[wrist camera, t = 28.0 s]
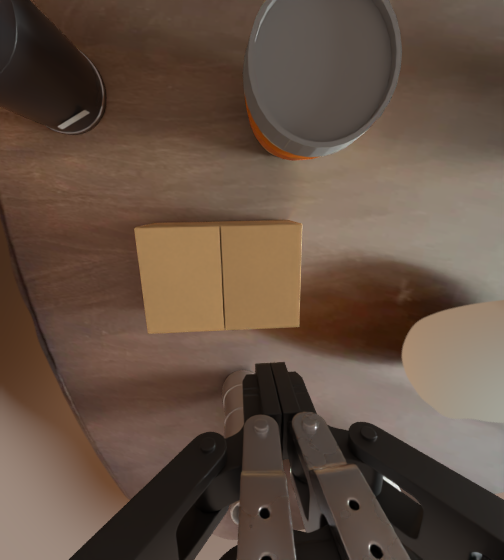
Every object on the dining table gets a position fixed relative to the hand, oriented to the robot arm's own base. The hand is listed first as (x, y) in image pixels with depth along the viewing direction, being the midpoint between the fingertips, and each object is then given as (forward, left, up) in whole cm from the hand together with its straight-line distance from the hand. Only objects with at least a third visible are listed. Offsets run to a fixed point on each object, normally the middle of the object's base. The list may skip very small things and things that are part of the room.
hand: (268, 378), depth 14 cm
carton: (-3, 0, -27) cm, 27 cm away
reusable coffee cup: (+6, +19, -27) cm, 34 cm away
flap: (+2, 0, -19) cm, 19 cm away
